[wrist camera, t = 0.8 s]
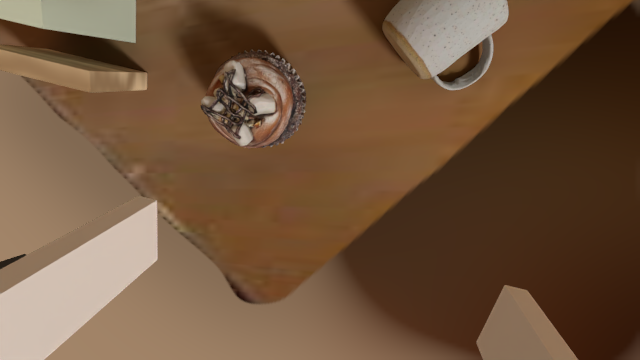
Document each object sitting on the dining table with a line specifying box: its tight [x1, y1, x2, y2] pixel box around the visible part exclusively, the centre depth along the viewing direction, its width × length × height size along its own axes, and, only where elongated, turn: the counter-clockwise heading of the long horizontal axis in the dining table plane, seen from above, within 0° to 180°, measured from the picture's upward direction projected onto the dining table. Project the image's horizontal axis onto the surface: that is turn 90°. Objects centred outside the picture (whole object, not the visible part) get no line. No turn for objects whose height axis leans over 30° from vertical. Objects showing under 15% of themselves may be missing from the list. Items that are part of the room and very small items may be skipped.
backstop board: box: [0, 44, 147, 93], centre depth 33 cm, size 2×13×8 cm, turn 78°
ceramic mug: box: [382, 0, 509, 90], centre depth 27 cm, size 11×8×8 cm
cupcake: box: [201, 49, 306, 149], centre depth 30 cm, size 10×10×10 cm
